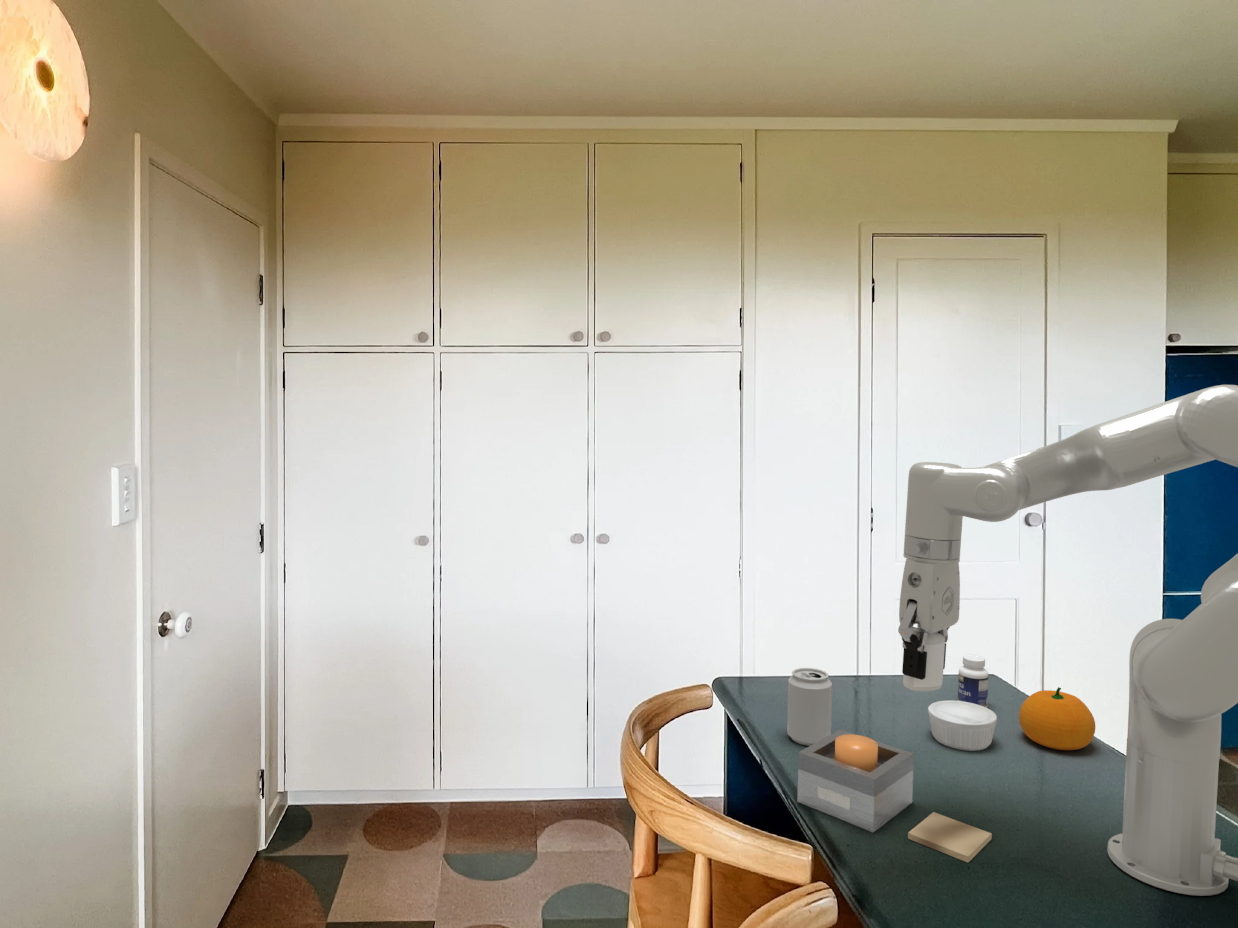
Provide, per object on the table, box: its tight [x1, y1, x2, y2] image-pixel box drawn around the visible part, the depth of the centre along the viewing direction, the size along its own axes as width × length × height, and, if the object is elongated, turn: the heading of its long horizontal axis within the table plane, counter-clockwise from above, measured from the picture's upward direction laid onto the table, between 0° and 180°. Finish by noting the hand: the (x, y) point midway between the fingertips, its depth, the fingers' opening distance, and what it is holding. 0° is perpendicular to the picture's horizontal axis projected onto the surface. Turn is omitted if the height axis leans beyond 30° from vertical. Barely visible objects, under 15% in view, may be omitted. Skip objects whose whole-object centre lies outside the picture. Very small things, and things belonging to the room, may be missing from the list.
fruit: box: [1018, 686, 1096, 751], centre depth 138 cm, size 12×12×10 cm
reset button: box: [835, 734, 878, 772], centre depth 116 cm, size 6×6×6 cm
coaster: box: [907, 811, 993, 863], centre depth 106 cm, size 8×8×1 cm
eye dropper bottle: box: [902, 624, 945, 692], centre depth 114 cm, size 4×6×12 cm
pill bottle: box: [957, 654, 989, 708], centre depth 154 cm, size 5×5×10 cm
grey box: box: [797, 729, 915, 833], centre depth 116 cm, size 12×12×8 cm
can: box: [786, 667, 833, 747], centre depth 138 cm, size 8×8×12 cm
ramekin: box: [927, 699, 998, 752], centre depth 138 cm, size 11×11×5 cm
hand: (923, 670), depth 114 cm, fingers closed on eye dropper bottle, 5 cm apart
